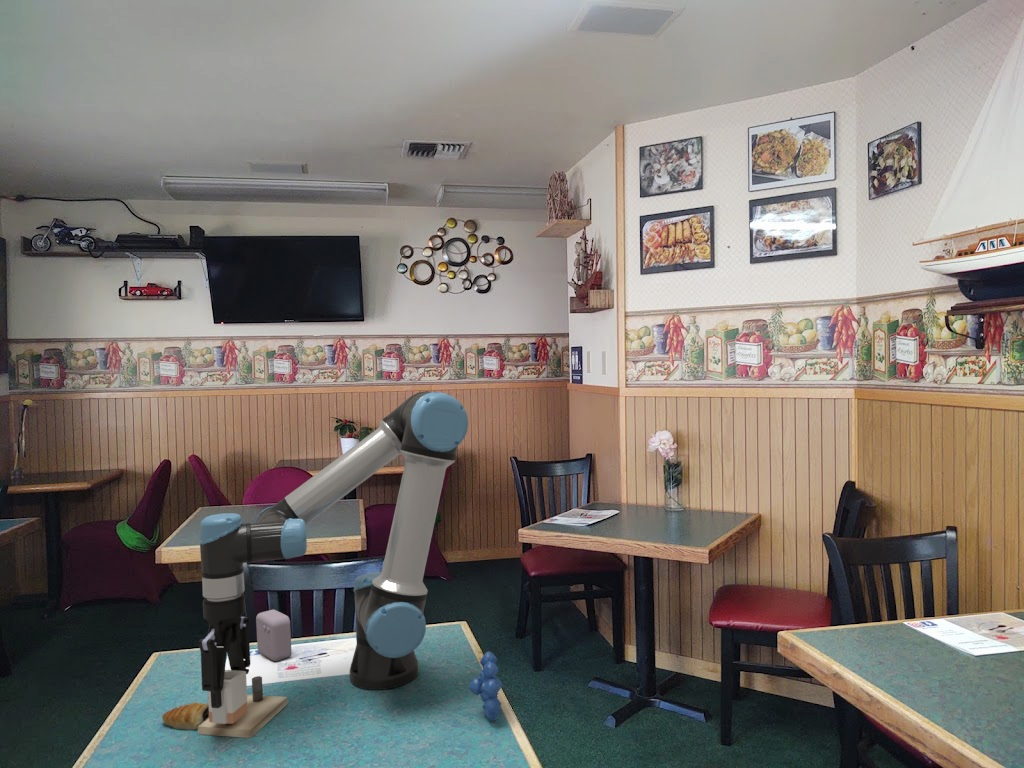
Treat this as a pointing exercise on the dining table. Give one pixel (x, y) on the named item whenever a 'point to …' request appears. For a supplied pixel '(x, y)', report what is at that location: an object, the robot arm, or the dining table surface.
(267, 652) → the electronic device
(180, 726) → the pastry
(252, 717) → the pin board
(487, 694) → the grapes
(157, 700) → the dining table surface
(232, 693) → the sleeve
